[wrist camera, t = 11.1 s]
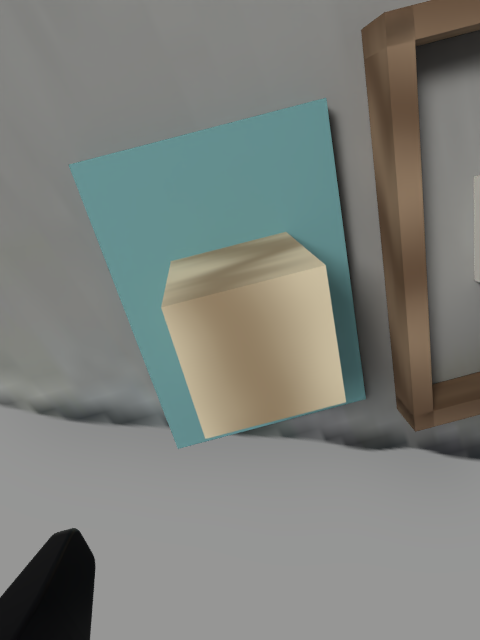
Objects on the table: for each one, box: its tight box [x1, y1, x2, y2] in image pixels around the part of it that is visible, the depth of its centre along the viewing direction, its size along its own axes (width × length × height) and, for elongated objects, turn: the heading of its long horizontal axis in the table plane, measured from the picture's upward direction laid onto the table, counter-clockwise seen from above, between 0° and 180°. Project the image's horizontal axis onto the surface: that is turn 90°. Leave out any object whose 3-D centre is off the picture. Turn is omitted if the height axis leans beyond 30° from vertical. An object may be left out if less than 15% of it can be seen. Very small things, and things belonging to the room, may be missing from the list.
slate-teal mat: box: [69, 98, 366, 449], centre depth 18 cm, size 14×10×1 cm
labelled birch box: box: [161, 232, 346, 439], centre depth 15 cm, size 5×5×6 cm
